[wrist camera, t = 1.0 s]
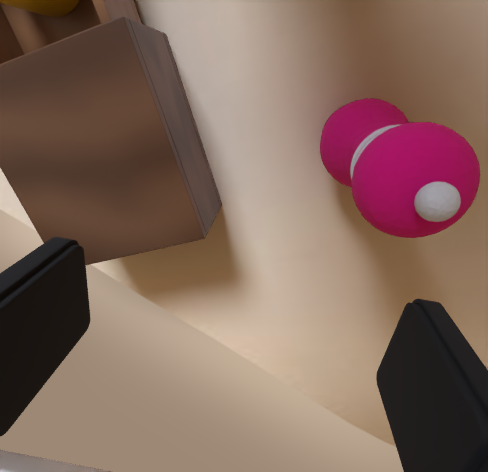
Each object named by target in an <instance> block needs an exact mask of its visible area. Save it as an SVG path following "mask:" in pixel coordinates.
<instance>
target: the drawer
mask: <svg viewBox="0 0 488 472" xmlns="http://www.w3.org/2000/svg"><path fill="white" fill-rule="evenodd" d="M122 16H124V17H126V18H128V19H131V20H133V21H135V22H138V23H140V24H142V23H141V20H140V18H139V15H138V12H137V9H136V6H135V3H134V0H79V2H78V4H77V5H76V7H75V8H74V9H73V10H72V11H71V12H69V13H68V14H66V15H64V16H60V17H49V16H44V15H41V14H37V13H34V12H30V11H27V10H23V9H20V8H16V7H12V6H9V5H5V4H2V3H0V65H2V64H5V63H7V62H10V61H12V60H15V59H17V58H20V57H22V56H25V55H27V54H30V53H32V52H35V51H37V50H40V49H42V48H45V47H47V46H50V45H52V44H55V43H57V42H60V41H62V40H65V39H67V38H70V37H72V36H75V35H77V34H80V33H82V32H85V31H87V30H90V29H92V28H95V27H97V26H100V25H102V24H105V23H107V22H110V21H112V20H115V19H117V18H120V17H122Z"/></svg>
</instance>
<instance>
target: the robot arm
mask: <svg viewBox="0 0 488 472" xmlns="http://www.w3.org/2000/svg"><path fill="white" fill-rule="evenodd" d="M85 267H86V266H85V256H84V249H83V247H82V246H79V243H78V242H77V241H76V240H72V239H67V238H61V237H53V238H51V239H50V240H49V241H47V242H46V243H44V244H43V245H41V246H40V247H38V248H37V249H35V250H34V251H32V252H31V253H30V254H28V255H27V256H25V257H24V258H22V259H21V260H19V261H18V262H16V263H15V264H13V265H12V266H11V267H9V268H8V269H6V270H5V271H3V272H2V273H0V436H2V435H4V434H5V433H6V432H7V431H8V430H9V429H10V427H11V426H12V425H13V424H14V422H15V421H16V420H17V418H18V417H19V416H20V415H21V413H22V412H23V411H24V409H25V408H26V407H27V406H28V404H29V403H30V402H31V401H32V399H33V398H34V397H35V395H36V394H37V393H38V392H39V390H40V389H41V388H42V387H43V385H44V384H45V383H46V382H47V380H48V379H49V378H50V376H51V375H52V374H53V373H54V371H55V370H56V369H57V368H58V366H59V365H60V364H61V362H62V361H63V360H64V359H65V357H66V356H67V355H68V354H69V352H70V351H71V350H72V349H73V347H74V346H75V345H76V343H77V342H78V341H79V340H80V338H81V337H82V336H83V335H84V333H85V332H86V331H87V329H88V327H89V324H90V310H89V299H88V288H87V278H86V268H85ZM377 385H378V388H379V392H380V395H381V398H382V401H383V405H384V408H385V411H386V415H387V418H388V421H389V424H390V428H391V431H392V434H393V437H394V441H395V444H396V447H397V450H398V454H399V457H400V460H401V463H402V467H403V470H404V472H488V370H487V369H486V367H485V366H484V364H483V363H482V362H481V360H480V359H479V357H478V356H477V354H476V353H475V352H474V350H473V349H472V347H471V346H470V344H469V343H468V342H467V340H466V339H465V337H464V336H463V334H462V333H461V332H460V330H459V329H458V327H457V326H456V324H455V323H454V322H453V320H452V319H451V317H450V316H449V314H448V313H447V312H446V310H445V309H444V307H443V306H442V305H441V304H440V303H439V302H434V301H428V300H422V299H415V300H414V301H413V303H408V304H406V306H405V308H404V310H403V313H402V315H401V317H400V320H399V322H398V324H397V327H396V329H395V331H394V334H393V336H392V338H391V341H390V343H389V345H388V348H387V350H386V352H385V355H384V357H383V359H382V362H381V364H380V366H379V369H378V371H377ZM0 472H111V471H106V470H101V469H96V468H91V467H85V466H81V465H75V464H70V463H65V462H60V461H55V460H50V459H44V458H39V457H34V456H29V455H23V454H19V453H13V452H8V451H3V450H0Z"/></svg>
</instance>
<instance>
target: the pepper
mask: <svg viewBox="0 0 488 472" xmlns="http://www.w3.org/2000/svg"><path fill="white" fill-rule="evenodd" d="M78 2H79V0H0V3H2V4H5V5H9V6H12V7H16V8H20V9H23V10H27V11H30V12H34V13H37V14H41V15H44V16H49V17H60V16H64V15H66V14H68V13H69V12H71V11H72V10H73V9H74V8H75V7H76V5H77V4H78Z"/></svg>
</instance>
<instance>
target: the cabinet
mask: <svg viewBox="0 0 488 472" xmlns="http://www.w3.org/2000/svg"><path fill="white" fill-rule="evenodd" d="M0 168H1V169H2V171H3V173H4V175H5V176H6V178H7V180H8V182H9V183H10V185H11V187H12V188H13V190H14V192H15V194H16V195H17V197H18V199H19V201H20V202H21V204H22V206H23V208H24V209H25V211H26V213H27V215H28V216H29V218H30V220H31V221H32V223H33V225H34V227H35V228H36V230H37V232H38V234H39V235H40V237H41V239H42V240H43V242H44V243H46V242H47V241H49V240H50V239H51V238H53V237H61V238H67V239H72V240H76V241H77V242H78V243H79V246H82V247H83V249H84V256H85V265H89V264H93V263H98V262H102V261H107V260H111V259H116V258H120V257H124V256H129V255H133V254H138V253H142V252H147V251H151V250H156V249H160V248H165V247H169V246H174V245H178V244H183V243H187V242H191V241H196V240H200V239H204V238H205V237H206V234H207V232H208V231H209V229H210V227H211V225H212V223H213V221H214V219H215V217H216V215H217V213H218V211H219V209H220V207H221V205H222V203H221V200H220V197H219V194H218V191H217V188H216V185H215V182H214V179H213V176H212V173H211V170H210V167H209V164H208V161H207V158H206V155H205V152H204V149H203V146H202V143H201V140H200V137H199V134H198V131H197V128H196V125H195V121H194V118H193V115H192V112H191V109H190V106H189V103H188V100H187V97H186V94H185V91H184V88H183V85H182V82H181V79H180V76H179V73H178V70H177V67H176V64H175V61H174V58H173V55H172V52H171V49H170V46H169V43H168V40H167V36H166V34H165V33H162V32H160V31H157V30H155V29H152V28H150V27H148V26H145V25H143V24H140V23H138V22H135V21H133V20H131V19H128V18H126V17H124V16H122V17H120V18H117V19H115V20H112V21H110V22H107V23H105V24H102V25H100V26H97V27H95V28H92V29H90V30H87V31H85V32H82V33H80V34H77V35H75V36H72V37H70V38H67V39H65V40H62V41H60V42H57V43H55V44H52V45H50V46H47V47H45V48H42V49H40V50H37V51H35V52H32V53H30V54H27V55H25V56H22V57H20V58H17V59H15V60H12V61H10V62H7V63H5V64H2V65H0Z"/></svg>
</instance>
